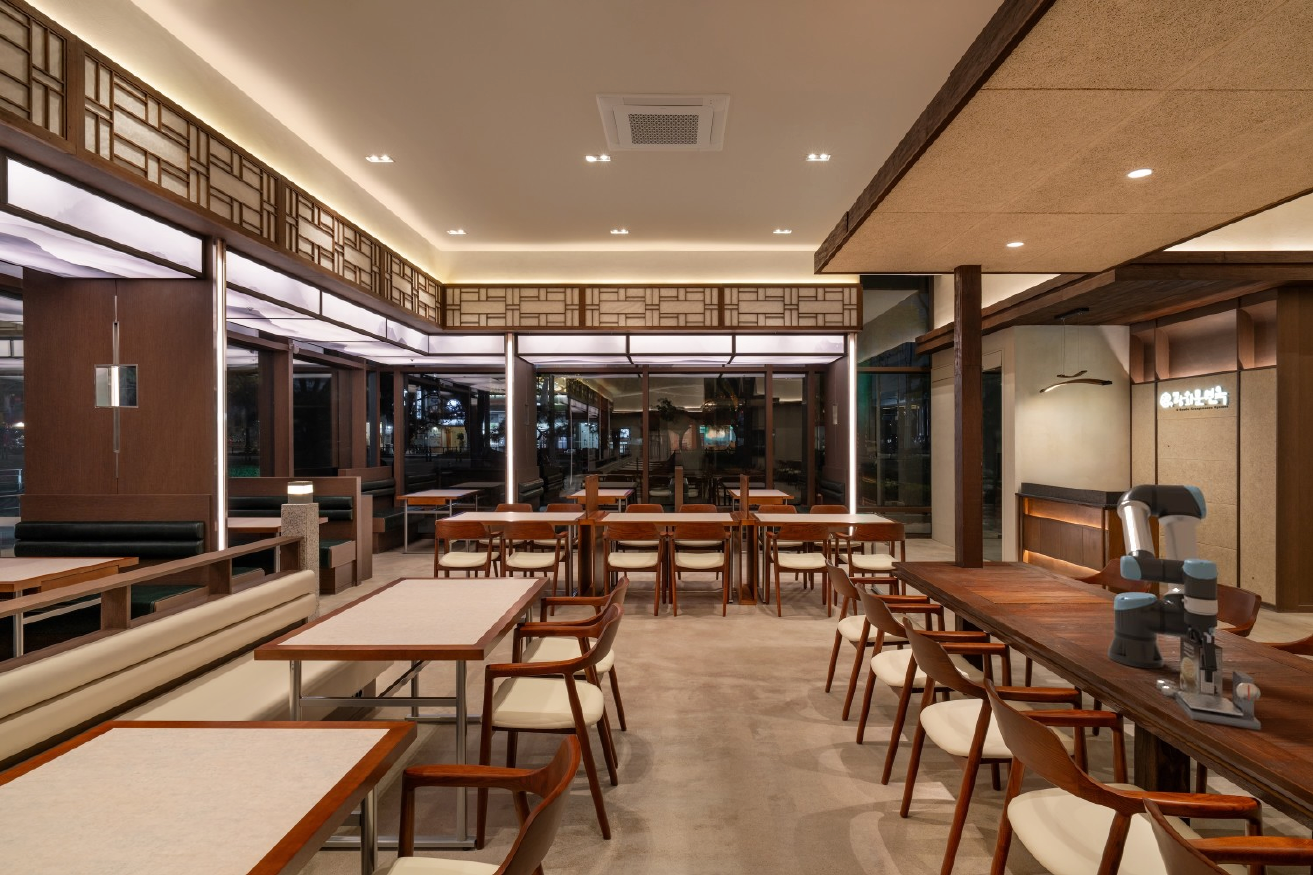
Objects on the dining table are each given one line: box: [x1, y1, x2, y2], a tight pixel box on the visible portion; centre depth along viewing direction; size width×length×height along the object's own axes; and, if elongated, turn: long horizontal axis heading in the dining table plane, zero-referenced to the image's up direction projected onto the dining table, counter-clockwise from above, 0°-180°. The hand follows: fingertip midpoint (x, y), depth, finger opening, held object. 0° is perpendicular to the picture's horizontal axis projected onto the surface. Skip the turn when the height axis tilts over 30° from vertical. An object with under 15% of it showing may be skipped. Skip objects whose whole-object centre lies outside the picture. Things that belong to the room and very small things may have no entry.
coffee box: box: [1179, 637, 1223, 698], centre depth 182 cm, size 9×6×16 cm
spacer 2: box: [1161, 684, 1182, 699], centre depth 182 cm, size 4×4×2 cm
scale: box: [1175, 670, 1262, 731], centre depth 169 cm, size 14×15×12 cm
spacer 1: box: [1156, 678, 1176, 691], centre depth 187 cm, size 4×4×2 cm
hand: (1200, 685), depth 182 cm, fingers closed on coffee box, 10 cm apart
